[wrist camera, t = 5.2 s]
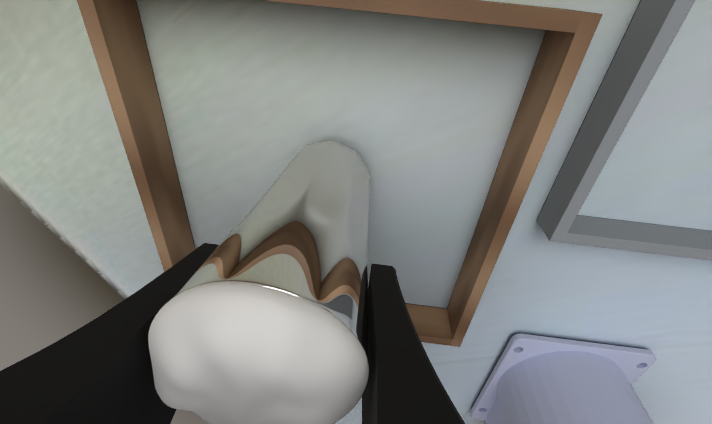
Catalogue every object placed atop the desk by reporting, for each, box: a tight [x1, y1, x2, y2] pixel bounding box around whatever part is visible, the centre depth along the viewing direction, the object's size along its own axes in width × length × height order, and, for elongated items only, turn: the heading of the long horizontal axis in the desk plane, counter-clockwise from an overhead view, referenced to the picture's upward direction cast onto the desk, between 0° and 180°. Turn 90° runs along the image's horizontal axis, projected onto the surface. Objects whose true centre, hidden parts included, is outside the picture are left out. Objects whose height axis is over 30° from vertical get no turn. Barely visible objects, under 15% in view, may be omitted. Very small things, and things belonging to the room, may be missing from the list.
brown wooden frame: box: [77, 0, 602, 347], centre depth 14 cm, size 15×15×2 cm
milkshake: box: [148, 140, 370, 424], centre depth 10 cm, size 4×5×10 cm
